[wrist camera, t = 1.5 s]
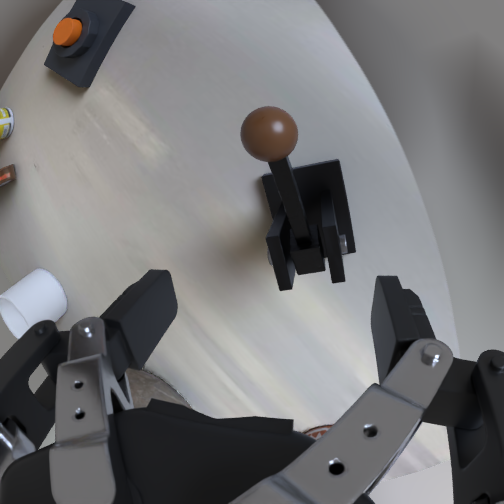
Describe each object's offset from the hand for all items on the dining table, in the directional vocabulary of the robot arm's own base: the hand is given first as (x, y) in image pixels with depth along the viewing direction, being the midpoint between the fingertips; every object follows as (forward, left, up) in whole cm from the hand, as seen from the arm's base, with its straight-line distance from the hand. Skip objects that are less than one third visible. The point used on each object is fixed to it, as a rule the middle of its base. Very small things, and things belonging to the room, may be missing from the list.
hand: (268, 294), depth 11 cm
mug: (+43, -24, -22) cm, 54 cm away
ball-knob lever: (-1, -1, -11) cm, 11 cm away
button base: (-1, -33, -22) cm, 40 cm away
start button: (-1, -33, -18) cm, 38 cm away
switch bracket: (+2, +3, -22) cm, 22 cm away
